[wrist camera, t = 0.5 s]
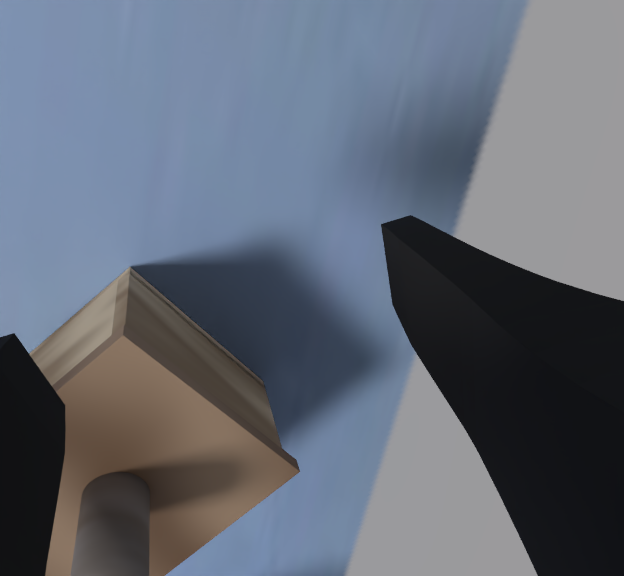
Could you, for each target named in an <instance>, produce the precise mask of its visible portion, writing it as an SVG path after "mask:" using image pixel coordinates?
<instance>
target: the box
mask: <svg viewBox="0 0 624 576" xmlns="http://www.w3.org/2000/svg"><path fill="white" fill-rule="evenodd" d="M123 325H125V326H126V327H128V328H129V329H130V330H131V331H133V332H134V333H135V334H136V335H138V336H139V337H140V338H142V339H143V340H144V341H145V342H147V343H148V344H149V345H150V346H152V347H153V348H154V349H156V350H157V351H158V352H159V353H161V354H162V355H163V356H165V357H166V358H167V359H168V360H170V361H171V362H172V363H173V364H175V365H176V366H177V367H179V368H180V369H181V370H182V371H184V372H185V373H186V374H187V375H189V376H190V377H191V378H193V379H194V380H195V381H196V382H198V383H199V384H200V385H201V386H203V387H204V388H205V389H207V390H208V391H209V392H210V393H212V394H213V395H214V396H216V397H217V398H218V399H219V400H221V401H222V402H223V403H224V404H226V405H227V406H228V407H230V408H231V409H232V410H233V411H235V412H236V413H237V414H238V415H240V416H241V417H242V418H244V419H245V420H246V421H247V422H249V423H250V424H251V425H252V426H254V427H255V428H256V429H258V430H259V431H260V432H261V433H263V434H264V435H265V436H267V437H268V438H269V439H270V440H272V441H273V442H274V443H275V444H277V445H278V446H279V447H281V443H280V440H279V436H278V432H277V429H276V425H275V422H274V418H273V415H272V411H271V408H270V404H269V400H268V397H267V393H266V390H265V386H264V383H263V381H262V380H261V379H260V378H259V377H258V376H256V375H255V374H254V373H253V372H252V371H251V370H249V369H248V368H247V367H246V366H245V365H244V364H243V363H241V362H240V361H239V360H238V359H237V358H236V357H234V356H233V355H232V354H231V353H230V352H229V351H227V350H226V349H225V348H224V347H223V346H222V345H220V344H219V343H218V342H217V341H216V340H215V339H213V338H212V337H211V336H210V335H209V334H208V333H206V332H205V331H204V330H203V329H202V328H201V327H199V326H198V325H197V324H196V323H195V322H194V321H193V320H191V319H190V318H189V317H188V316H187V315H186V314H184V313H183V312H182V311H181V310H180V309H179V308H177V307H176V306H175V305H174V304H173V303H172V302H170V301H169V300H168V299H167V298H166V297H165V296H163V295H162V294H161V293H160V292H159V291H158V290H156V289H155V288H154V287H153V286H152V285H151V284H149V283H148V282H147V281H146V280H145V279H144V278H142V277H141V276H140V275H139V274H138V273H137V272H136V271H134V270H133V269H132V268H131V267H129V268H128V269H127V270H126V271H125V272H123V273H122V274H121V275H120V276H119V277H118V278H116V279H115V280H114V281H113V282H112V283H111V284H110V285H108V286H107V287H106V288H105V289H104V290H103V291H101V292H100V293H99V294H98V295H97V296H96V297H94V298H93V299H92V300H91V301H90V302H89V303H88V304H86V305H85V306H84V307H83V308H82V309H81V310H79V311H78V312H77V313H76V314H75V315H74V316H72V317H71V318H70V319H69V320H68V321H67V322H66V323H64V324H63V325H62V326H61V327H60V328H59V329H57V330H56V331H55V332H54V333H53V334H52V335H50V336H49V337H48V338H47V339H46V340H45V341H43V342H42V343H41V344H40V345H39V346H38V347H37V348H35V349H34V350H33V351H32V352H31V353H30V354H29V355H30V356H31V357H32V359H33V360H34V362H35V363H36V365H37V366H38V367H39V369H40V370H41V372H42V373H43V374H44V376H45V377H46V379H47V380H48V381H49V383H50V384H51V386H52V385H53V384H55V383H56V382H57V381H58V380H59V379H61V378H62V377H63V376H64V375H65V374H66V373H68V372H69V371H70V370H71V369H72V368H73V367H75V366H76V365H77V364H78V363H79V362H81V361H82V360H83V359H84V358H85V357H86V356H88V355H89V354H90V353H91V352H92V351H94V350H95V349H96V348H97V347H98V346H99V345H101V344H102V343H103V342H104V341H105V340H107V339H108V338H109V337H110V336H111V335H112V334H114V333H115V332H116V331H117V330H118V329H119V328H121V327H122V326H123ZM281 448H282V447H281Z"/></svg>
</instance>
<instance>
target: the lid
mask: <svg viewBox="0 0 624 576" xmlns="http://www.w3.org/2000/svg"><path fill="white" fill-rule="evenodd" d="M52 387H53V389H54V390H55V391H56V393H57V394H58V396H59V397H60V398H61V400H62V401H63V403H64V404H65V425H66V433H65V456H64V463H63V469H62V476H61V482H60V488H59V495H58V501H57V506H56V512H55V518H54V524H53V530H52V536H51V542H50V548H49V554H48V560H47V566H46V574H45V576H165V575H166V574H167V573H169V572H170V571H171V570H172V569H174V568H175V567H176V566H178V565H179V564H180V563H182V562H183V561H184V560H185V559H187V558H188V557H189V556H191V555H192V554H193V553H195V552H196V551H197V550H199V549H200V548H201V547H202V546H204V545H205V544H206V543H208V542H209V541H210V540H212V539H213V538H214V537H215V536H217V535H218V534H219V533H221V532H222V531H223V530H225V529H226V528H227V527H228V526H230V525H231V524H232V523H234V522H235V521H236V520H238V519H239V518H240V517H242V516H243V515H244V514H245V513H247V512H248V511H249V510H251V509H252V508H253V507H255V506H256V505H257V504H258V503H260V502H261V501H262V500H264V499H265V498H266V497H268V496H269V495H270V494H271V493H273V492H274V491H275V490H277V489H278V488H279V487H281V486H282V485H283V484H285V483H286V482H287V481H288V480H290V479H291V478H292V477H294V476H295V475H296V474H298V473H299V472H300V470H299V467H298V464H297V460H296V459H295V458H293V457H292V456H291V455H289V454H288V453H287V452H286V451H284V450H283V449H282V448H281V447H279V446H278V445H277V444H275V443H274V442H273V441H272V440H270V439H269V438H268V437H267V436H265V435H264V434H263V433H261V432H260V431H259V430H258V429H256V428H255V427H254V426H252V425H251V424H250V423H249V422H247V421H246V420H245V419H244V418H242V417H241V416H240V415H238V414H237V413H236V412H235V411H233V410H232V409H231V408H230V407H228V406H227V405H226V404H224V403H223V402H222V401H221V400H219V399H218V398H217V397H216V396H214V395H213V394H212V393H210V392H209V391H208V390H207V389H205V388H204V387H203V386H201V385H200V384H199V383H198V382H196V381H195V380H194V379H193V378H191V377H190V376H189V375H187V374H186V373H185V372H184V371H182V370H181V369H180V368H179V367H177V366H176V365H175V364H173V363H172V362H171V361H170V360H168V359H167V358H166V357H165V356H163V355H162V354H161V353H159V352H158V351H157V350H156V349H154V348H153V347H152V346H150V345H149V344H148V343H147V342H145V341H144V340H143V339H142V338H140V337H139V336H138V335H136V334H135V333H134V332H133V331H131V330H130V329H129V328H128V327H126V326H125V325H123V326H122V327H121V328H119V329H118V330H117V331H116V332H115V333H114V334H112V335H111V336H110V337H109V338H108V339H107V340H105V341H104V342H103V343H102V344H101V345H99V346H98V347H97V348H96V349H95V350H94V351H92V352H91V353H90V354H89V355H88V356H86V357H85V358H84V359H83V360H82V361H81V362H79V363H78V364H77V365H76V366H75V367H73V368H72V369H71V370H70V371H69V372H68V373H66V374H65V375H64V376H63V377H62V378H61V379H59V380H58V381H57V382H56V383H55V384H53V385H52Z"/></svg>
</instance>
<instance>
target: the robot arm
mask: <svg viewBox="0 0 624 576" xmlns="http://www.w3.org/2000/svg"><path fill="white" fill-rule="evenodd" d="M381 227H382V234H383V241H384V248H385V255H386V262H387V269H388V276H389V283H390V290H391V297H392V304H393V307H394V309H395V311H396V313H397V315H398V318H399V320H400V322H401V324H402V326H403V328H404V331H405V333H406V335H407V337H408V339H409V341H410V343H411V345H412V347H413V348H414V350H415V351H416V353H417V355H418V356H419V358H420V359H421V361H422V363H423V364H424V366H425V367H426V369H427V370H428V372H429V374H430V375H431V377H432V378H433V380H434V381H435V383H436V385H437V386H438V388H439V389H440V391H441V392H442V394H443V395H444V397H445V399H446V400H447V402H448V403H449V405H450V406H451V408H452V409H453V411H454V412H455V414H456V416H457V417H458V419H459V420H460V422H461V424H462V425H463V426H464V428H465V430H466V431H467V433H468V435H469V437H470V439H471V440H472V442H473V444H474V445H475V447H476V449H477V451H478V453H479V455H480V457H481V458H482V461H483V463H484V465H485V467H486V468H487V471H488V472H489V475H490V477H491V479H492V481H493V483H494V484H495V487H496V488H497V491H498V492H499V494H500V496H501V499H502V500H503V503H504V505H505V507H506V509H507V511H508V513H509V515H510V517H511V519H512V522H513V524H514V526H515V528H516V530H517V532H518V534H519V536H520V538H521V540H522V542H523V544H524V547H525V549H526V551H527V553H528V555H529V557H530V560H531V562H532V564H533V566H534V568H535V570H536V572H537V575H538V576H624V301H621V300H617V299H613V298H609V297H606V296H602V295H599V294H595V293H592V292H589V291H585V290H582V289H579V288H576V287H573V286H569V285H566V284H563V283H560V282H557V281H554V280H551V279H549V278H546V277H543V276H540V275H538V274H535V273H533V272H530V271H527V270H525V269H522V268H520V267H518V266H515V265H513V264H510V263H508V262H506V261H503V260H501V259H499V258H496V257H494V256H492V255H489V254H488V253H486V252H483V251H481V250H479V249H477V248H475V247H473V246H471V245H468V244H467V243H465V242H463V241H461V240H459V239H457V238H455V237H453V236H451V235H449V234H447V233H445V232H443V231H441V230H439V229H437V228H435V227H433V226H431V225H429V224H428V223H426V222H424V221H422V220H420V219H418V218H416V217H413V216H411V215H410V216H407V217H404V218H400V219H397V220H393V221H390V222H387V223H383V224H381ZM65 433H66V425H65V404H64V403H63V401H62V400H61V398H60V397H59V396H58V394H57V393H56V391H55V390H54V389H53V387H52V386H51V384H50V383H49V381H48V380H47V379H46V377H45V376H44V374H43V373H42V372H41V370H40V369H39V367H38V366H37V365H36V363H35V362H34V360H33V359H32V357H31V356H30V355H29V353H28V352H27V350H26V349H25V348H24V346H23V345H22V343H21V342H20V341H19V339H18V338H17V336H16V335H15V334H14V333H13V334H10V335H7V336H3V337H0V576H45V574H46V566H47V560H48V554H49V548H50V542H51V536H52V530H53V524H54V518H55V512H56V506H57V501H58V495H59V488H60V482H61V476H62V469H63V463H64V456H65Z"/></svg>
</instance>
